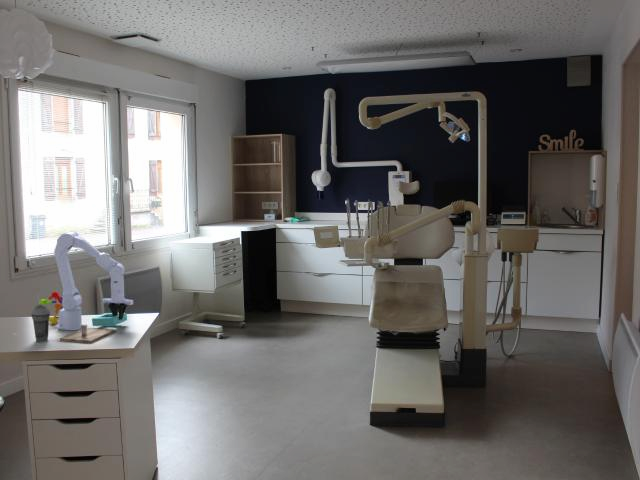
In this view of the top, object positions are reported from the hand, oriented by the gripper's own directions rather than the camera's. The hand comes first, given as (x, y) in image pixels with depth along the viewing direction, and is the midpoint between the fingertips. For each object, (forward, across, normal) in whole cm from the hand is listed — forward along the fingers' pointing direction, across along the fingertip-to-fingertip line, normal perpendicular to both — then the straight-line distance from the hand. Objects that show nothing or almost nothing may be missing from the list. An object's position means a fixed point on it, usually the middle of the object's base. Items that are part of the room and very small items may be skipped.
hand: (118, 319), depth 292 cm
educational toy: (+4, -35, +4) cm, 36 cm away
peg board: (+4, -4, -17) cm, 18 cm away
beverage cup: (+4, -19, -28) cm, 34 cm away
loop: (+2, -4, 0) cm, 5 cm away
